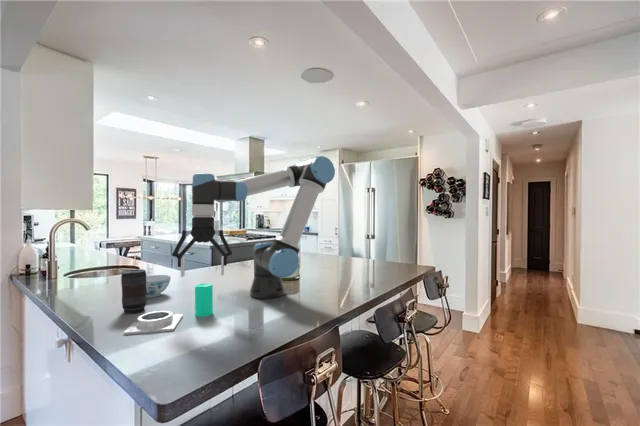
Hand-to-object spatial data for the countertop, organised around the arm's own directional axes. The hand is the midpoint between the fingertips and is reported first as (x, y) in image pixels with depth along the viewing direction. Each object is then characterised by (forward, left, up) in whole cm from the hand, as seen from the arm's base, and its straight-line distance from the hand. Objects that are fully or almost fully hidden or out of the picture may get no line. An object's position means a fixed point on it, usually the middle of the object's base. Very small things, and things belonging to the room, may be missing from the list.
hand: (202, 275), depth 114 cm
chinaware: (+26, -33, -14) cm, 44 cm away
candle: (0, 0, -14) cm, 14 cm away
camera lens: (+26, -10, -14) cm, 31 cm away
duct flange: (+14, +8, -14) cm, 21 cm away
